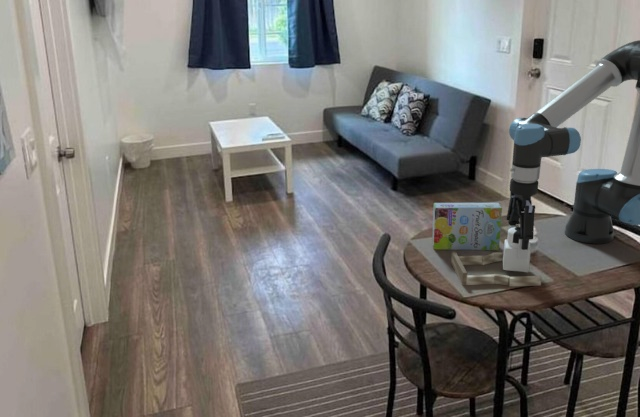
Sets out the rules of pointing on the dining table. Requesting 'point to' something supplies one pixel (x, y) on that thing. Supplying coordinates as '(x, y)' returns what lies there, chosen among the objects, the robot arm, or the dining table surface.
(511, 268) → the medicine bottle
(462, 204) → the snack box
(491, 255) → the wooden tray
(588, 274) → the dining table surface
